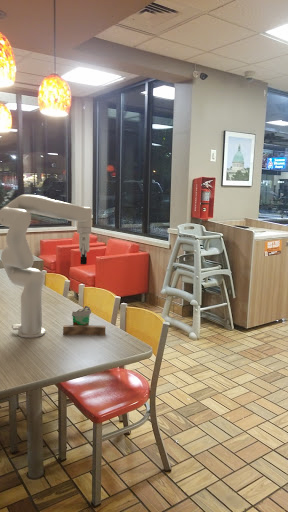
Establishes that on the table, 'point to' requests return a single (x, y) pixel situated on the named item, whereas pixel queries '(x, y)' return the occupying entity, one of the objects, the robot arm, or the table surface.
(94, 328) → the walnut board
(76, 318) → the food container
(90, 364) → the table surface
